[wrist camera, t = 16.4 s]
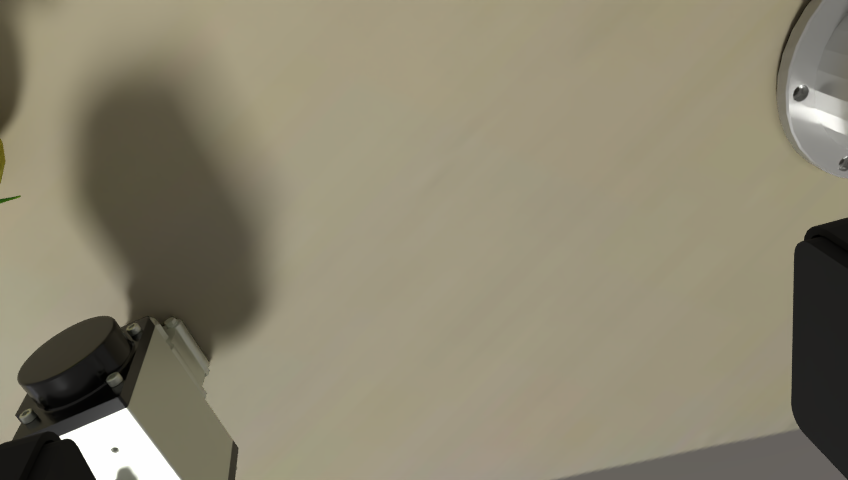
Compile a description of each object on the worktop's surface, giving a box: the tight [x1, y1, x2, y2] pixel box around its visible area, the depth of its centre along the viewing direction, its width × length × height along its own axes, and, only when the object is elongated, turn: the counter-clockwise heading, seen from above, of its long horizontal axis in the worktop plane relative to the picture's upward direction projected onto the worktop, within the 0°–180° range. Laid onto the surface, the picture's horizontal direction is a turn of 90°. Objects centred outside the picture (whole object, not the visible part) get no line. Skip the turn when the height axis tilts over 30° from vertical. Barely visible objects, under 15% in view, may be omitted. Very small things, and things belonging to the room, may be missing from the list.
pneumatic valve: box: [12, 316, 238, 480], centre depth 35 cm, size 6×12×12 cm, turn 21°
